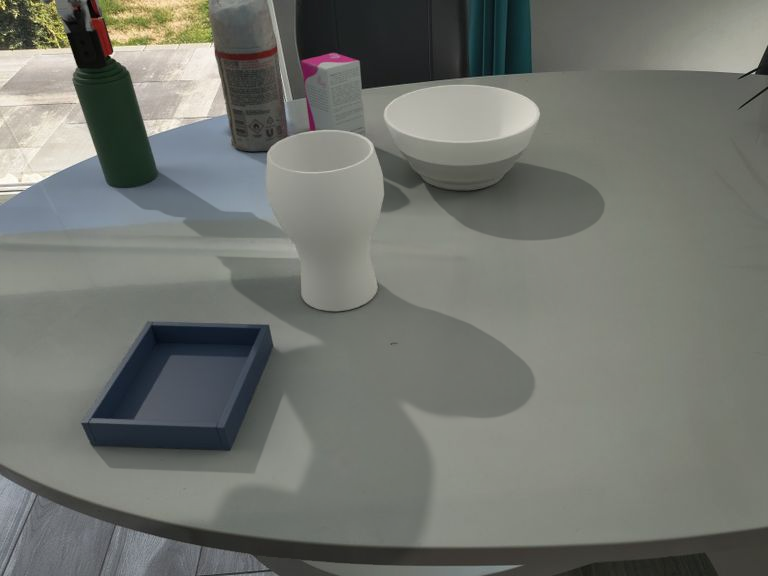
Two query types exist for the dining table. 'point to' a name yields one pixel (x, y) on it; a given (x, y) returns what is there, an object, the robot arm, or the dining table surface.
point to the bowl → (461, 133)
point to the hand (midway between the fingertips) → (95, 59)
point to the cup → (328, 212)
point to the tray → (181, 387)
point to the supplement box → (334, 93)
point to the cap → (102, 35)
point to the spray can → (249, 72)
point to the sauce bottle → (115, 124)
